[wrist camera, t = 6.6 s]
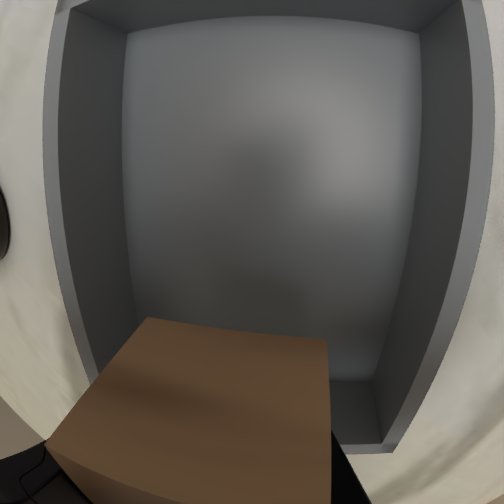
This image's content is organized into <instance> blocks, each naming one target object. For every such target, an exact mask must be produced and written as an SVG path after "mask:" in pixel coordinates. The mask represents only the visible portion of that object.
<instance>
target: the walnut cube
mask: <svg viewBox="0 0 504 504" xmlns="http://www.w3.org/2000/svg"><path fill="white" fill-rule="evenodd" d="M44 445H45V447H46V448H47V450H48V451H49V452H50V454H51V455H52V456H53V458H54V459H55V460H56V461H57V463H58V464H59V465H60V466H61V468H62V469H63V470H64V471H65V473H66V474H67V475H68V476H69V477H70V479H71V480H72V481H73V482H74V483H75V484H76V485H77V487H78V488H79V489H80V490H81V491H82V492H83V493H84V494H85V495H86V496H87V498H88V499H89V500H90V501H91V502H92V503H93V504H331V414H330V388H329V369H328V353H327V339H317V338H304V337H293V336H282V335H272V334H262V333H253V332H245V331H237V330H229V329H221V328H214V327H207V326H200V325H194V324H187V323H181V322H175V321H169V320H163V319H157V318H152V317H147V318H146V319H145V320H144V321H143V323H142V324H141V325H140V326H139V327H138V328H137V330H136V331H135V332H134V333H133V334H132V336H131V337H130V338H129V339H128V340H127V342H126V343H125V344H124V345H123V346H122V348H121V349H120V350H119V351H118V352H117V354H116V355H115V356H114V357H113V358H112V360H111V361H110V362H109V363H108V365H107V366H106V367H105V368H104V369H103V371H102V372H101V373H100V374H99V376H98V377H97V378H96V379H95V380H94V382H93V383H92V384H91V385H90V387H89V388H88V389H87V390H86V392H85V393H84V394H83V395H82V397H81V398H80V399H79V400H78V402H77V403H76V404H75V406H74V407H73V408H72V409H71V411H70V412H69V413H68V414H67V416H66V417H65V418H64V420H63V421H62V422H61V424H60V425H59V426H58V427H57V429H56V430H55V431H54V433H53V434H52V435H51V437H50V438H49V439H48V441H47V442H46V443H45V444H44Z"/></svg>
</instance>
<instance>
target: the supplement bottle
mask: <svg viewBox="0 0 504 504" xmlns="http://www.w3.org/2000/svg"><path fill="white" fill-rule="evenodd" d="M8 237H9V227H8V218H7V212H6V208H5V204H4V201H3V198H2V196H1V193H0V259H1V258H2V257H3V255H4V254H5V251H6V249H7V245H8Z"/></svg>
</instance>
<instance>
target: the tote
mask: <svg viewBox="0 0 504 504" xmlns="http://www.w3.org/2000/svg"><path fill="white" fill-rule="evenodd" d="M494 130H495V102H494V80H493V67H492V57H491V49H490V42H489V35H488V29H487V23H486V18H485V13H484V8H483V4H482V0H58V2H57V7H56V11H55V16H54V21H53V26H52V31H51V37H50V43H49V50H48V57H47V65H46V74H45V86H44V100H43V169H44V184H45V196H46V206H47V214H48V222H49V229H50V236H51V242H52V248H53V254H54V259H55V264H56V269H57V274H58V279H59V283H60V288H61V292H62V296H63V300H64V304H65V308H66V312H67V315H68V319H69V322H70V326H71V329H72V333H73V336H74V339H75V342H76V345H77V348H78V351H79V354H80V357H81V360H82V363H83V366H84V369H85V371H86V374H87V377H88V379H89V382H90V384H92V383H93V382H94V380H95V379H96V378H97V377H98V376H99V374H100V373H101V372H102V371H103V369H104V368H105V367H106V366H107V365H108V363H109V362H110V361H111V360H112V358H113V357H114V356H115V355H116V354H117V352H118V351H119V350H120V349H121V348H122V346H123V345H124V344H125V343H126V342H127V340H128V339H129V338H130V337H131V336H132V334H133V333H134V332H135V331H136V330H137V328H138V327H139V326H140V325H141V324H142V323H143V321H144V320H145V319H146V318H147V317H152V318H157V319H163V320H169V321H175V322H181V323H187V324H194V325H200V326H207V327H214V328H221V329H229V330H237V331H245V332H253V333H262V334H272V335H282V336H293V337H304V338H317V339H327V353H328V369H329V388H330V414H331V429H332V431H333V433H334V435H335V437H336V439H337V440H338V442H339V444H340V446H341V448H342V450H343V452H344V453H345V454H377V453H393V451H394V450H395V448H396V447H397V445H398V443H399V442H400V440H401V439H402V437H403V435H404V434H405V432H406V430H407V429H408V427H409V425H410V424H411V422H412V420H413V418H414V417H415V415H416V413H417V411H418V409H419V407H420V406H421V404H422V402H423V400H424V398H425V396H426V394H427V392H428V390H429V388H430V386H431V384H432V382H433V380H434V378H435V376H436V373H437V371H438V369H439V367H440V365H441V362H442V360H443V358H444V355H445V353H446V351H447V348H448V346H449V343H450V341H451V338H452V336H453V333H454V330H455V328H456V325H457V322H458V320H459V317H460V314H461V311H462V308H463V305H464V302H465V299H466V296H467V292H468V289H469V286H470V282H471V279H472V275H473V272H474V268H475V264H476V260H477V256H478V252H479V247H480V243H481V238H482V234H483V229H484V223H485V218H486V212H487V206H488V199H489V192H490V184H491V176H492V165H493V152H494Z"/></svg>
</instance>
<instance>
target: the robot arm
mask: <svg viewBox="0 0 504 504" xmlns="http://www.w3.org/2000/svg"><path fill="white" fill-rule="evenodd" d="M48 439H49V438H48ZM48 439H47V440H44V441H43V442H41V443H39V444H37V445H35V446H33V447H31V448H29V449H27V450H24V451H22V452H20V453H17V454H15V455H12V456H9V457H7V458H4V459H1V460H0V504H93V503H92V502H91V501H90V500H89V499H88V498H87V496H86V495H85V494H84V493H83V492H82V491H81V490H80V489H79V488H78V487H77V485H76V484H75V483H74V482H73V481H72V480H71V479H70V477H69V476H68V475H67V474H66V473H65V471H64V470H63V469H62V468H61V466H60V465H59V464H58V463H57V461H56V460H55V459H54V458H53V456H52V455H51V454H50V452H49V451H48V450H47V448H46V447H45V445H44V444H45V443H46V442H47V441H48ZM331 504H372V503H371V501H370V499H369V498H368V496H367V494H366V492H365V490H364V489H363V487H362V485H361V483H360V481H359V479H358V478H357V476H356V474H355V472H354V470H353V468H352V466H351V465H350V463H349V461H348V459H347V457H346V455H345V453H344V452H343V450H342V448H341V446H340V444H339V442H338V440H337V439H336V437H335V435H334V433H333V431H332V429H331Z"/></svg>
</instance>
